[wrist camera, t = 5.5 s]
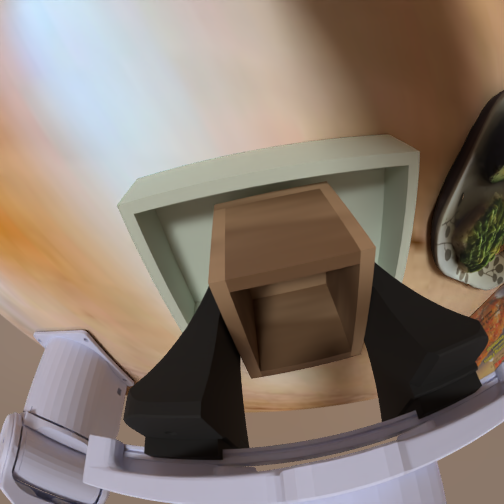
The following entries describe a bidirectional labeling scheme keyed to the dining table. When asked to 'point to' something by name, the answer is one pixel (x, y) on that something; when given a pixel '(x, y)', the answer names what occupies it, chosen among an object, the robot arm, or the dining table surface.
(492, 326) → the tin
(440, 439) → the robot arm
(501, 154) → the salad plate
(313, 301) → the walnut crate
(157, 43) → the dining table surface
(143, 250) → the sage crate
